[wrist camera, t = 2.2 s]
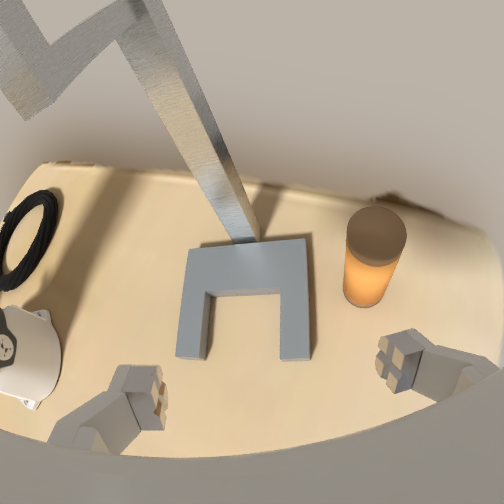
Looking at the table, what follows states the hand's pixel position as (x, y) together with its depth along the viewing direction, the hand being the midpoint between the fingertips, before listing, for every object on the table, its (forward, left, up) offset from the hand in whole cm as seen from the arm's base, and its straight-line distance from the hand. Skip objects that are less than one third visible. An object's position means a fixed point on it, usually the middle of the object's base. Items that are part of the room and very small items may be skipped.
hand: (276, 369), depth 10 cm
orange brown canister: (+6, +11, -22) cm, 25 cm away
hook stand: (-8, +14, -22) cm, 27 cm away
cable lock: (-66, +26, -22) cm, 74 cm away
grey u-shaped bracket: (-8, +10, -22) cm, 25 cm away
